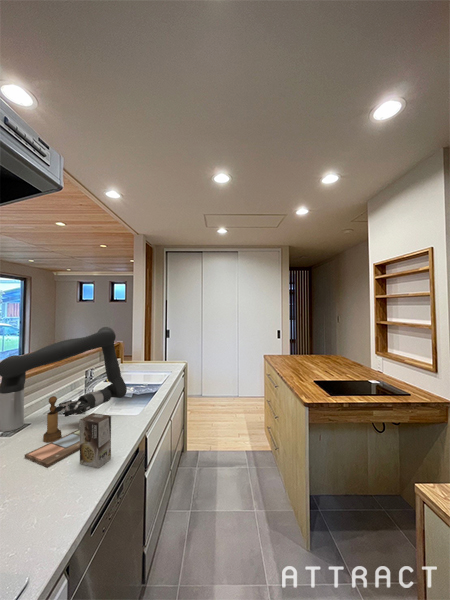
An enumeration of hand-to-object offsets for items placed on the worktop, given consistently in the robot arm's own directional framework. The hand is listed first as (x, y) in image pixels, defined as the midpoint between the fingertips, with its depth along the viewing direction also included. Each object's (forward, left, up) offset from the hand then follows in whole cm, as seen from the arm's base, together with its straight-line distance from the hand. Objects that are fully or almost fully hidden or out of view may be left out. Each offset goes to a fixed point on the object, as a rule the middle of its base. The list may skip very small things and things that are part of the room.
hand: (58, 412), depth 117 cm
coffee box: (+31, -6, -10) cm, 33 cm away
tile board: (+12, -3, -10) cm, 16 cm away
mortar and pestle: (0, -3, -10) cm, 11 cm away
